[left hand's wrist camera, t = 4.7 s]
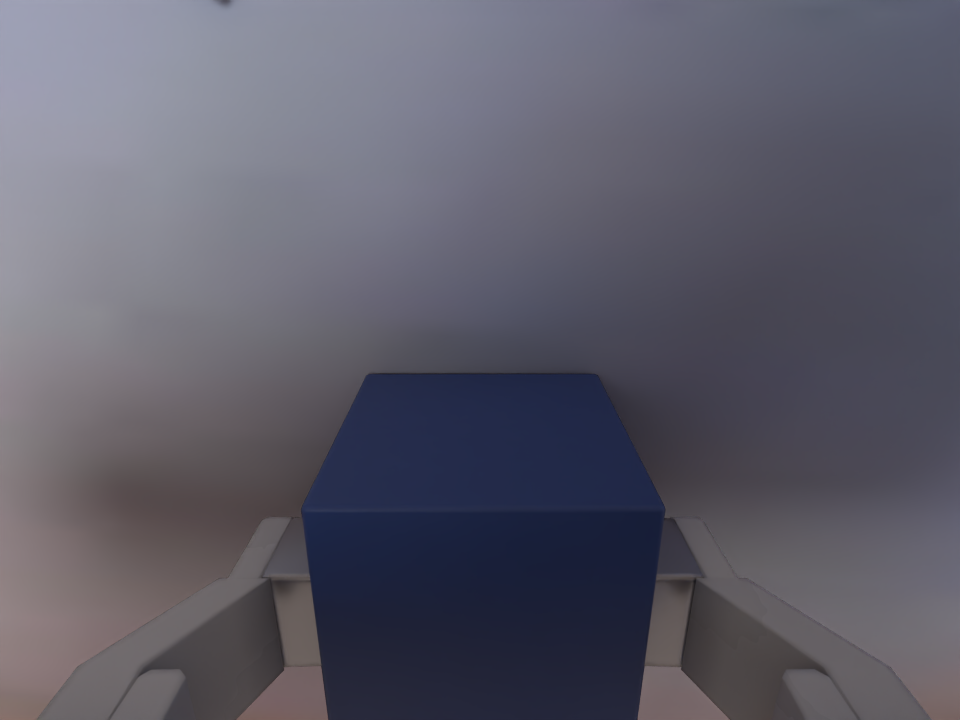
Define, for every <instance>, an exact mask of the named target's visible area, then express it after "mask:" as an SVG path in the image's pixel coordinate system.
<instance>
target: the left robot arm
mask: <svg viewBox="0 0 960 720" xmlns="http://www.w3.org/2000/svg"><path fill="white" fill-rule="evenodd" d="M300 666H321V659H320V651H319V643H318V636H317V628H316V620H315V613H314V605H313V597H312V589H311V582H310V574H309V566H308V559H307V551H306V543H305V535H304V528H303V520H302V517H295V518H292V517H267V518H265V519H263V520H262V521H261V522H260V524H259V526H258V527H257V529H256V531H255V533H254V534H253V536H252V538H251V539H250V541H249V543H248V544H247V546H246V548H245V550H244V551H243V553H242V555H241V556H240V558H239V560H238V561H237V563H236V565H235V567H234V568H233V570H232V572H231V573H230V575H229V577H228V578H219V579H217V580H215V581H214V582H212V583H211V584H209V585H207V586H206V587H204V588H203V589H201V590H199V591H198V592H196V593H195V594H193V595H191V596H190V597H188V598H187V599H185V600H183V601H182V602H180V603H179V604H177V605H175V606H174V607H172V608H171V609H169V610H167V611H166V612H164V613H163V614H161V615H159V616H158V617H156V618H155V619H153V620H151V621H150V622H148V623H147V624H145V625H143V626H142V627H140V628H139V629H137V630H135V631H134V632H132V633H131V634H129V635H127V636H126V637H124V638H123V639H121V640H119V641H118V642H116V643H115V644H113V645H111V646H110V647H108V648H107V649H105V650H103V651H102V652H100V653H99V654H97V655H95V656H94V657H92V658H91V659H89V660H87V661H86V662H84V663H83V664H81V665H79V666H78V667H77V668H76V669H75V671H74V672H73V673H72V674H71V676H70V677H69V678H68V680H67V681H66V682H65V683H64V685H63V686H62V687H61V689H60V690H59V691H58V692H57V694H56V695H55V696H54V698H53V699H52V700H51V701H50V703H49V704H48V705H47V707H46V708H45V709H44V710H43V712H42V713H41V714H40V716H39V717H38V718H37V719H36V720H236V719H237V718H238V717H239V716H240V715H241V714H242V713H243V712H244V711H245V710H246V709H247V708H248V707H249V706H250V705H251V704H252V703H253V702H254V700H255V699H256V698H257V697H258V696H259V695H260V694H261V693H262V692H263V691H264V690H265V689H266V688H267V687H268V686H269V685H270V684H271V683H272V682H273V681H274V680H275V679H276V678H277V677H278V676H279V675H280V674H281V673H282V672H283V671H284V667H300ZM644 666H665V667H682V668H681V670H682V671H683V672H684V673H685V674H686V675H687V676H688V677H689V678H690V679H691V680H692V681H693V682H694V683H695V684H696V685H697V686H698V687H699V688H700V689H701V690H702V691H703V692H704V693H705V694H706V695H707V696H708V697H709V698H710V699H711V701H712V702H713V703H714V704H715V705H716V706H717V707H718V708H719V709H720V710H721V711H722V712H723V713H724V714H725V715H726V716H727V717H728V718H729V719H730V720H931V718H930V717H929V716H928V714H927V713H926V712H925V711H924V709H923V708H922V707H921V706H920V704H919V703H918V702H917V700H916V699H915V698H914V697H913V695H912V694H911V693H910V692H909V690H908V689H907V688H906V686H905V685H904V684H903V683H902V681H901V680H900V679H899V678H898V676H897V675H896V674H895V672H894V671H893V670H892V669H891V667H889V666H887V665H886V664H884V663H882V662H881V661H879V660H878V659H876V658H874V657H873V656H871V655H870V654H868V653H866V652H865V651H863V650H862V649H860V648H858V647H857V646H855V645H853V644H852V643H850V642H849V641H847V640H845V639H844V638H842V637H841V636H839V635H837V634H836V633H834V632H833V631H831V630H829V629H828V628H826V627H824V626H823V625H821V624H820V623H818V622H816V621H815V620H813V619H812V618H810V617H808V616H807V615H805V614H804V613H802V612H800V611H799V610H797V609H795V608H794V607H792V606H791V605H789V604H787V603H786V602H784V601H783V600H781V599H779V598H778V597H776V596H775V595H773V594H771V593H770V592H768V591H766V590H765V589H763V588H762V587H760V586H758V585H757V584H755V583H754V582H752V581H750V580H749V579H747V578H738V577H737V576H736V574H735V572H734V571H733V569H732V567H731V566H730V564H729V562H728V561H727V559H726V557H725V556H724V554H723V553H722V551H721V549H720V548H719V546H718V544H717V543H716V541H715V539H714V538H713V536H712V534H711V533H710V531H709V529H708V528H707V526H706V525H705V523H704V521H703V520H702V519H701V518H699V517H673V518H664V523H663V531H662V538H661V546H660V553H659V561H658V568H657V576H656V583H655V591H654V598H653V605H652V613H651V620H650V628H649V635H648V643H647V650H646V658H645V665H644Z"/></svg>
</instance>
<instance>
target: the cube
mask: <svg viewBox="0 0 960 720" xmlns="http://www.w3.org/2000/svg"><path fill="white" fill-rule="evenodd" d="M301 512H302V520H303V528H304V535H305V543H306V551H307V559H308V566H309V574H310V582H311V589H312V597H313V605H314V613H315V620H316V628H317V636H318V643H319V651H320V659H321V667H322V674H323V682H324V690H325V697H326V705H327V713H328V720H637V718H638V710H639V703H640V695H641V688H642V680H643V673H644V665H645V658H646V650H647V643H648V635H649V628H650V620H651V613H652V605H653V598H654V591H655V583H656V576H657V568H658V561H659V553H660V546H661V538H662V531H663V523H664V516H665V507H664V504H663V503H662V501H661V499H660V497H659V495H658V493H657V491H656V489H655V487H654V485H653V483H652V481H651V479H650V477H649V475H648V473H647V471H646V469H645V467H644V465H643V463H642V461H641V459H640V457H639V455H638V453H637V452H636V450H635V448H634V446H633V444H632V442H631V440H630V438H629V436H628V434H627V432H626V430H625V428H624V426H623V424H622V422H621V420H620V418H619V416H618V414H617V412H616V410H615V408H614V406H613V404H612V403H611V401H610V399H609V397H608V395H607V393H606V391H605V389H604V387H603V385H602V383H601V381H600V379H599V377H598V375H595V374H369V375H366V377H365V380H364V382H363V384H362V386H361V388H360V390H359V392H358V394H357V396H356V398H355V400H354V402H353V404H352V406H351V408H350V410H349V412H348V414H347V416H346V418H345V420H344V422H343V424H342V426H341V428H340V430H339V432H338V434H337V436H336V438H335V440H334V443H333V445H332V447H331V449H330V451H329V453H328V455H327V457H326V459H325V461H324V463H323V465H322V467H321V469H320V471H319V473H318V475H317V477H316V479H315V481H314V483H313V485H312V487H311V489H310V491H309V493H308V495H307V497H306V499H305V501H304V504H303V506H302V508H301Z"/></svg>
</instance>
